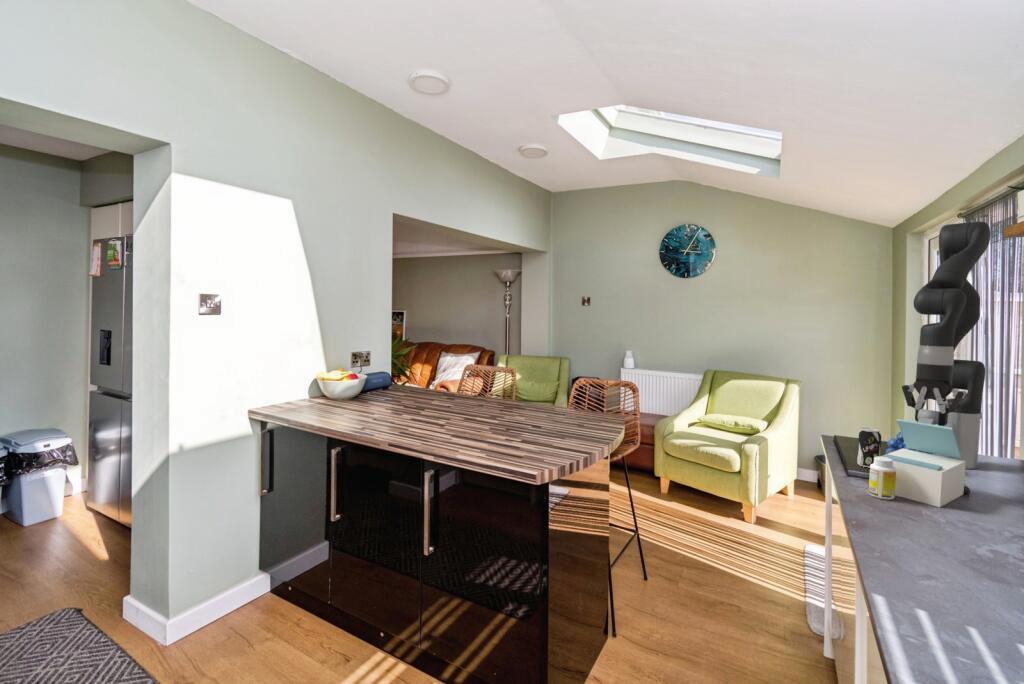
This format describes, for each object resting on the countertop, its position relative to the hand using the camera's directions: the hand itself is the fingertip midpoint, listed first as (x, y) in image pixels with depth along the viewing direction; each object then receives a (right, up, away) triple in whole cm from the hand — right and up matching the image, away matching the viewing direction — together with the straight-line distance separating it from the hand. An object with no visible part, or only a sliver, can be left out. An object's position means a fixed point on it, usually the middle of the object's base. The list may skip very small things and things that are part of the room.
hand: (930, 424), depth 135 cm
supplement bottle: (-17, -18, -4) cm, 25 cm away
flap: (-1, -4, 0) cm, 4 cm away
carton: (-4, -18, -1) cm, 19 cm away
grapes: (+9, -17, +19) cm, 27 cm away
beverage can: (-3, -17, +19) cm, 26 cm away
